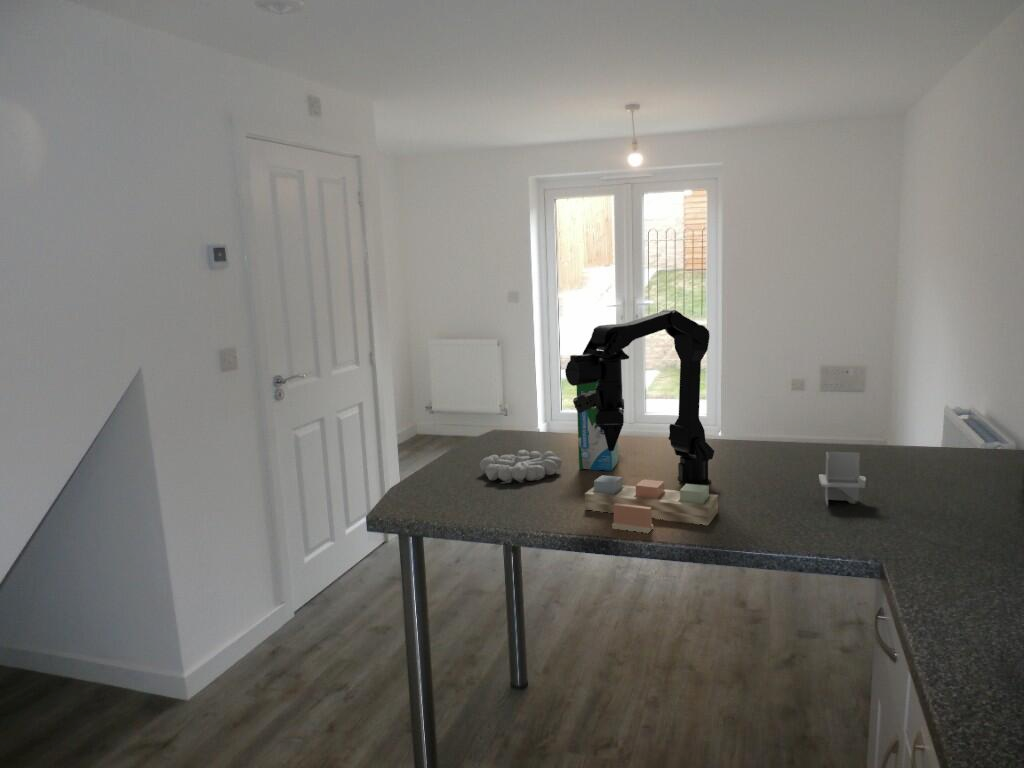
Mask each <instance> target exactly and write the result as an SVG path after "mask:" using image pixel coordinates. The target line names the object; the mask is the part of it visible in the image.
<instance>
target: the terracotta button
mask: <svg viewBox="0 0 1024 768" xmlns="http://www.w3.org/2000/svg"><path fill="white" fill-rule="evenodd" d="M635 486H636V497H642V498H651V499H660V498H661V497H662V496H663V495H664V489H665V480H664V481H663V480H654V479H642V480H641V481H639V482H638V483H637V484H635Z"/></svg>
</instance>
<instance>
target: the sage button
mask: <svg viewBox="0 0 1024 768" xmlns="http://www.w3.org/2000/svg"><path fill="white" fill-rule="evenodd" d="M709 489H710V486H709V485H705V484H685V483H684V485H683V486H682V488H680V490H679V491H680V502H687V503H696V504H705V503H706V502H707V501H708V499H709V494H710V490H709Z"/></svg>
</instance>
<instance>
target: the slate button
mask: <svg viewBox="0 0 1024 768" xmlns="http://www.w3.org/2000/svg"><path fill="white" fill-rule="evenodd" d="M622 485H623V477H622V476H613V475H602V474H601V476H599V477H598V478H596V479H594V481H593V487H594V492H597V493H606V494H615V495H616V494H617V493H618V492H620V491H621V490H622Z"/></svg>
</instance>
